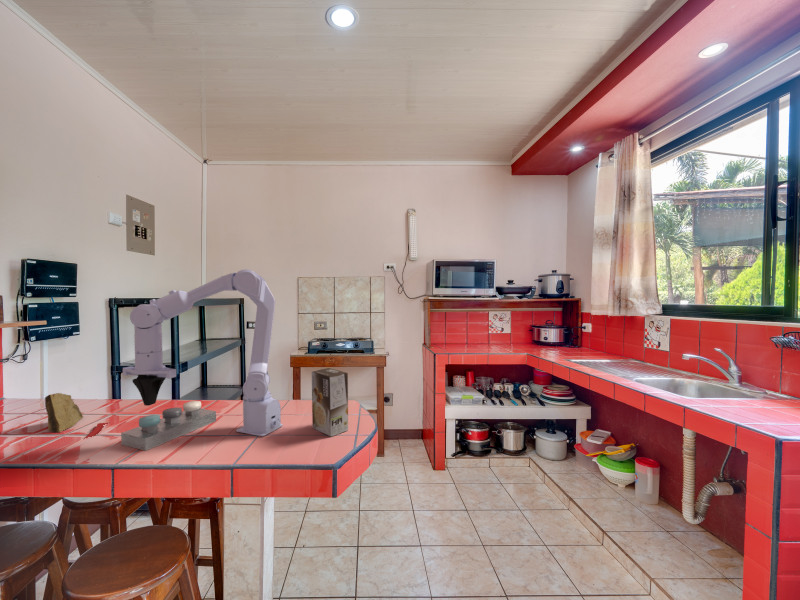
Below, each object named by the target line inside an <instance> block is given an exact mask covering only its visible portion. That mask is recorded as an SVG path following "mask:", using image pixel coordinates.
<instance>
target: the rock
mask: <svg viewBox="0 0 800 600" xmlns="http://www.w3.org/2000/svg"><path fill="white" fill-rule="evenodd" d="M44 404H45V405H44V408H45V410H46V414H47V428H48V431H49V432H52V433H59V432H60V433H62V432H61V431H63V430H64V431H65V429H66V430H68V429H70V428H72V427H73V426H75V425H76V424H77V423H78V422H79V421H81V420H82V419H83V418H84V415H83V413H82V411H81V410H80V408H79V406H78V404H76V403H75V402H74V400H73V398H72V396H71V395H69V394H66V393H62V392H57V393H56V392H55V393H52V394H48V395H46V396H45V397H44ZM69 427H70V428H69ZM67 428H68V429H67ZM64 431H63V432H64Z"/></svg>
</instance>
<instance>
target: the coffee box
mask: <svg viewBox="0 0 800 600" xmlns="http://www.w3.org/2000/svg"><path fill="white" fill-rule="evenodd" d="M348 375H349V373H348V372H345V371H343V370H338V369H334V368H330V367H328V368H327V367H326V368H321V369H318V370H315V371H311V409H312V410H311V413H312V414H311V416H312V420H311V422H312V423H311V424H312V429H314V430H315V431H318V432H320V433H323V434H324V435H326V436H328V437H334V436H336V435H339V434H342V433H344V432H347V431H349V377H348Z"/></svg>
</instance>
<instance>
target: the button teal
mask: <svg viewBox="0 0 800 600" xmlns="http://www.w3.org/2000/svg"><path fill="white" fill-rule="evenodd" d="M160 419H161V415H160V414H149V415H146V416H142V417H140V418H139V419H138V427H142V431H143V432H147V433H148V432H151V431H153V430H156V429H158V424H159V423H160Z"/></svg>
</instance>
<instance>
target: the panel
mask: <svg viewBox="0 0 800 600" xmlns="http://www.w3.org/2000/svg"><path fill="white" fill-rule="evenodd" d="M215 422H217V411H215V410H211V409H205V408H200V409H199V414H196V415H194V416H187V415H186V411H184V410H183V411H182V415H181V416H180V421H177V422H175V423H172V424H169V423H165V419H164V418H163V417H162V418H160V423H159V424H158V429H156V430H153V431H151V432H148V433H147V432H143V431H142V427H139V426H138V427H134V428H132V429H128V430H125V431H124V432H121V435H120V436H121V437H120V438H121V439H120V440H121V441H120V443H121V444H122V445H121V446H124V445H125V447H128V448H132V447H133V448H134V449H137V448H138V449H137V450H142V451H144V452H145V451H149V450H151V449H153V447H154V448H156V447H158V446H160V445H162V444H165V443H168V442H171V441H173V440H175V439H178V438H179V437H181V436H184V435H187V434H189V433H191V432H194V431H196V430H199V429H201V428H204V427H205V426H207V425H210V424H213V423H215ZM172 439H173V440H172ZM167 441H168V442H167ZM148 449H149V450H148Z"/></svg>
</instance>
